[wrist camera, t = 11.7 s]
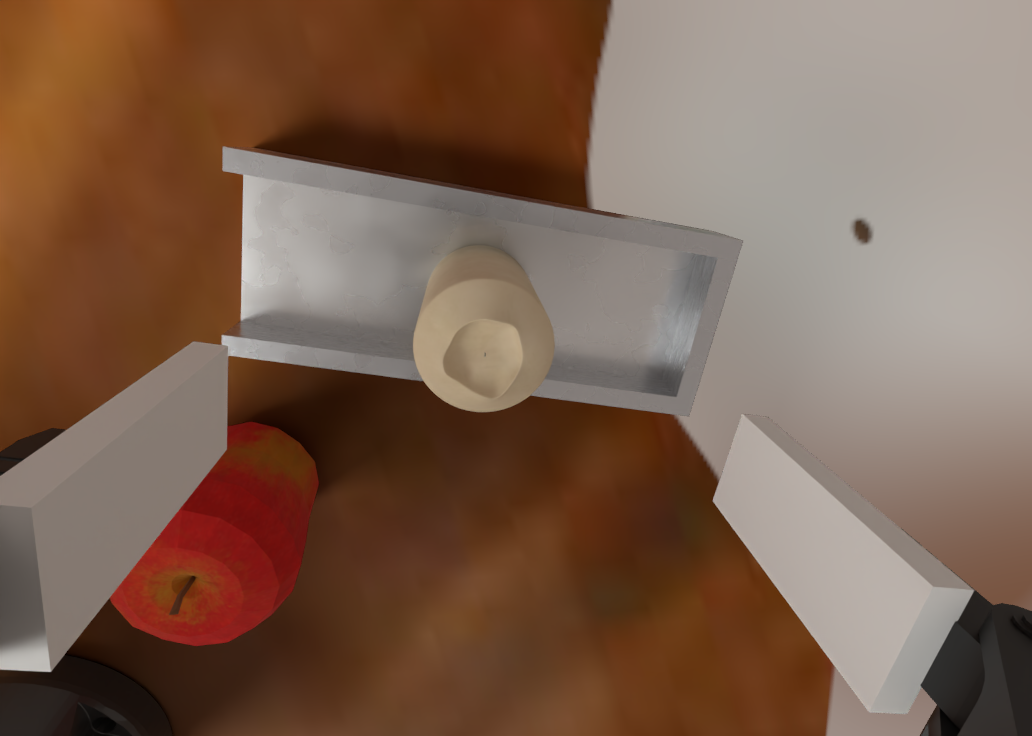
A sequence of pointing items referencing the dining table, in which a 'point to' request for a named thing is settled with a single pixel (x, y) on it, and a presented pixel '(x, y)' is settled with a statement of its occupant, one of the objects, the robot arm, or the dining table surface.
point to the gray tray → (451, 226)
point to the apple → (227, 544)
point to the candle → (482, 331)
